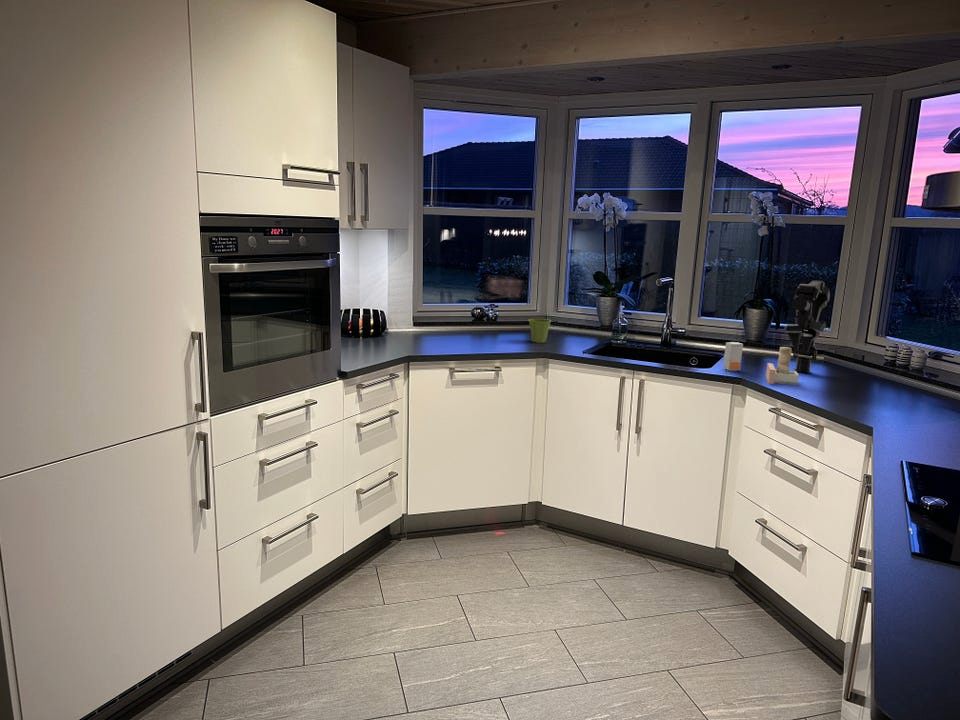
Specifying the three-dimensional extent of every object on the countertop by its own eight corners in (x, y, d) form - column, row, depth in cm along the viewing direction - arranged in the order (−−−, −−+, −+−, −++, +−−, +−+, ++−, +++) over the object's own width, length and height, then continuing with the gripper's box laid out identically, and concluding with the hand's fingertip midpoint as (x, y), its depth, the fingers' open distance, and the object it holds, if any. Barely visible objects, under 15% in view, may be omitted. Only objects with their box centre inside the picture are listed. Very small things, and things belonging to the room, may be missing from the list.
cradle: (771, 378, 282) (772, 369, 281) (794, 380, 279) (796, 371, 278) (773, 382, 274) (774, 373, 273) (797, 385, 271) (798, 375, 270)
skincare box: (728, 370, 295) (731, 343, 292) (722, 368, 299) (725, 342, 296) (740, 370, 296) (743, 343, 294) (734, 368, 300) (737, 342, 298)
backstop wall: (765, 377, 285) (767, 363, 284) (770, 377, 284) (772, 363, 283) (768, 384, 272) (770, 369, 271) (773, 384, 271) (775, 370, 270)
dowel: (779, 377, 279) (783, 346, 277) (789, 379, 276) (794, 348, 273) (773, 378, 277) (777, 347, 274) (783, 380, 273) (788, 349, 271)
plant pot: (540, 339, 355) (541, 318, 353) (554, 343, 346) (556, 321, 344) (522, 340, 349) (523, 319, 346) (536, 344, 339) (538, 322, 337)
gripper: (813, 310, 270) (810, 349, 270) (833, 316, 282) (830, 354, 282) (786, 311, 279) (783, 348, 278) (806, 317, 291) (803, 353, 290)
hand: (801, 351), depth 282 cm, fingers open, 9 cm apart
